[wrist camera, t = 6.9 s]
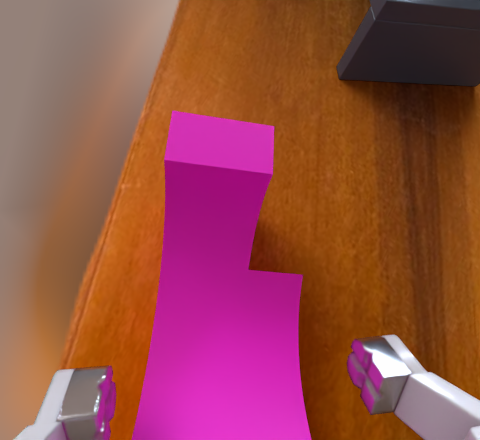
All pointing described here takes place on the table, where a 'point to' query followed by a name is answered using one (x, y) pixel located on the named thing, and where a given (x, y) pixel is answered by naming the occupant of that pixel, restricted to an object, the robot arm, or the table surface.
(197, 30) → the table surface
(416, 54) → the shelf
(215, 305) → the toy block
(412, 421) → the robot arm
